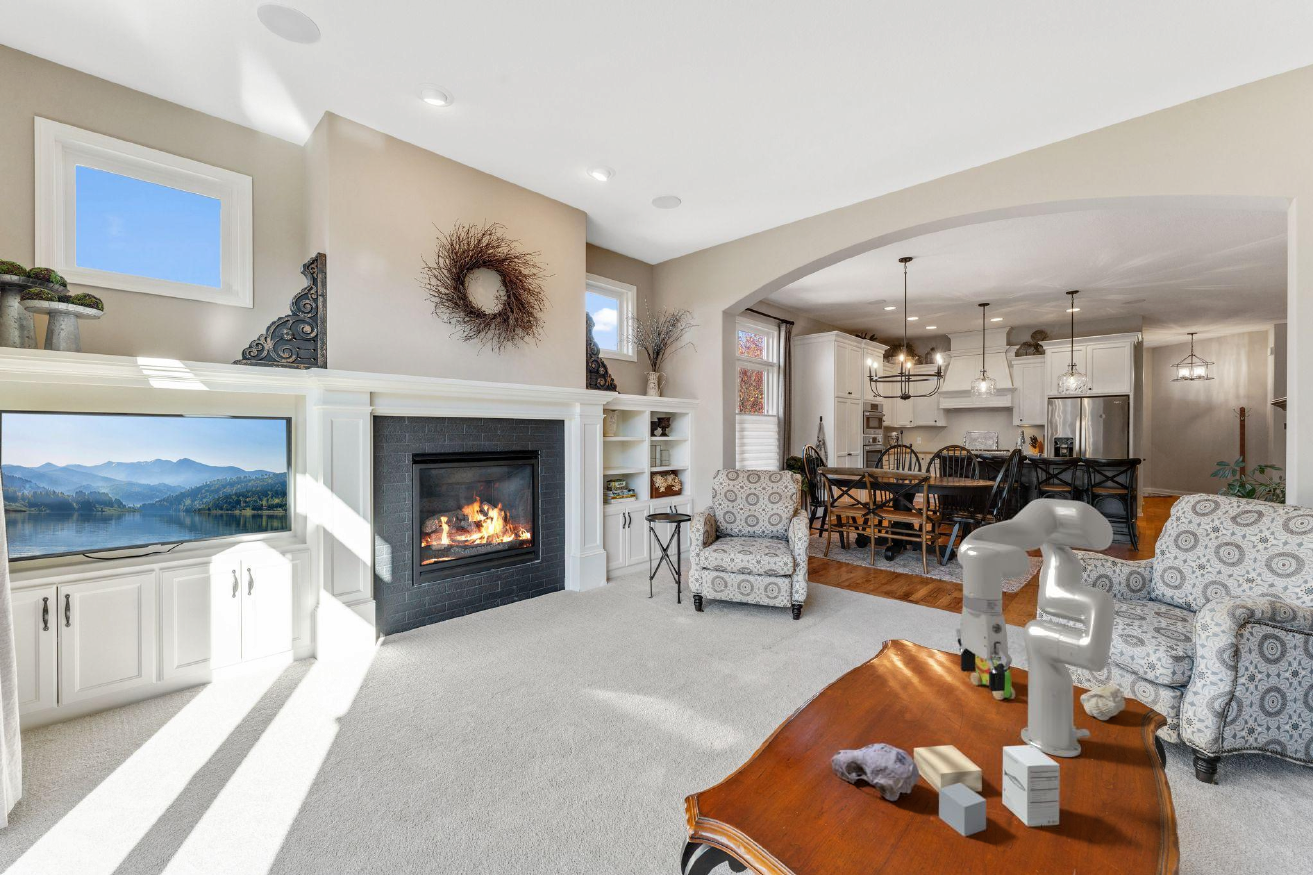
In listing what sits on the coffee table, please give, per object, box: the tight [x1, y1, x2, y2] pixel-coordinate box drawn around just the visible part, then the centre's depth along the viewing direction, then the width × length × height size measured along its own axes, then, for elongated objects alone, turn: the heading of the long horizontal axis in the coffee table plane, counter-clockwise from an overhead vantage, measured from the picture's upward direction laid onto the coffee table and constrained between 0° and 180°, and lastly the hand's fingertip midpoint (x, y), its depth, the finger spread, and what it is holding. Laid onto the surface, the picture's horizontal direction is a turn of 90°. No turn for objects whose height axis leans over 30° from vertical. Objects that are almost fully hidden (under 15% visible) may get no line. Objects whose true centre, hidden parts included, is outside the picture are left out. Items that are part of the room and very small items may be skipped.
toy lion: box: [969, 654, 1016, 701], centre depth 172 cm, size 16×5×15 cm, turn 6°
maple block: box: [913, 744, 983, 793], centre depth 127 cm, size 10×10×5 cm
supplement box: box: [1001, 744, 1061, 827], centre depth 115 cm, size 7×7×13 cm
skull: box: [830, 743, 920, 802], centre depth 125 cm, size 19×12×10 cm, turn 39°
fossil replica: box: [1079, 686, 1126, 721], centre depth 156 cm, size 12×8×10 cm
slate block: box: [938, 783, 987, 838], centre depth 112 cm, size 6×6×6 cm
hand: (981, 680), depth 121 cm, fingers open, 9 cm apart
